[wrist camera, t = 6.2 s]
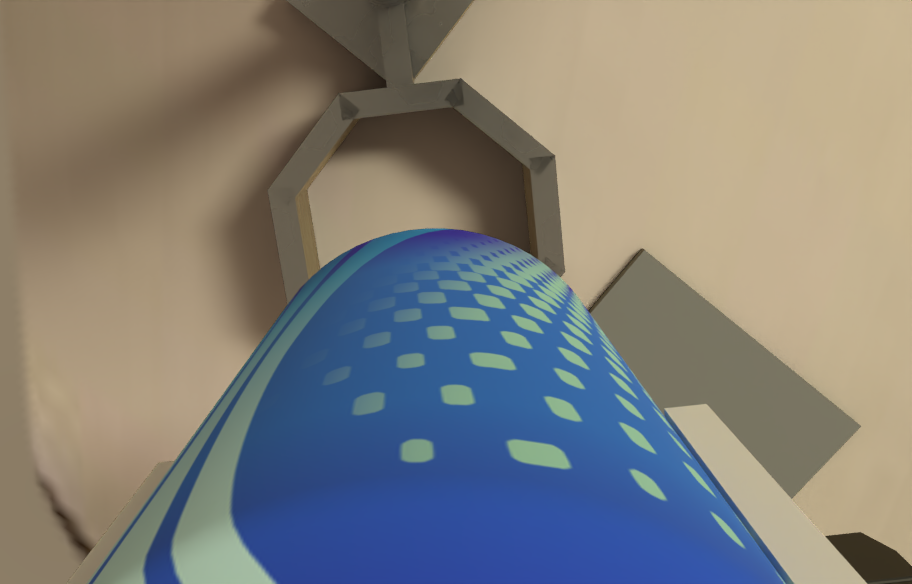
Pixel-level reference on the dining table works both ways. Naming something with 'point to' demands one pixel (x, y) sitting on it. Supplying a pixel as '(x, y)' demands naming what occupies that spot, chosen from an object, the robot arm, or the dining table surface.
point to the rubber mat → (719, 372)
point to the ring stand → (398, 62)
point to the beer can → (435, 443)
